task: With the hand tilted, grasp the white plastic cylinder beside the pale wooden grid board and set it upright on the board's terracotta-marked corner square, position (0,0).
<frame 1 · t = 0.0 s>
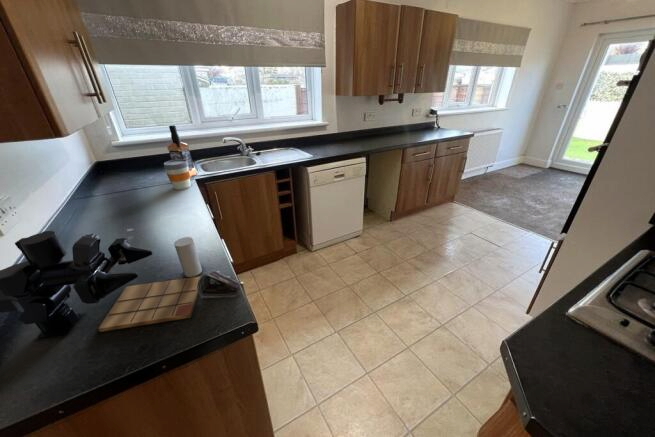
hand: (145, 263, 67), 17 cm above the worktop, tool horizontal, fingers open, 9 cm apart
reusable coffee cup: (182, 187, 161), on the worktop
board: (157, 302, 77), on the worktop
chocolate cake: (223, 288, 82), on the worktop
whiskey bottle: (186, 175, 179), on the worktop
white plastic cylinder: (193, 271, 89), on the worktop
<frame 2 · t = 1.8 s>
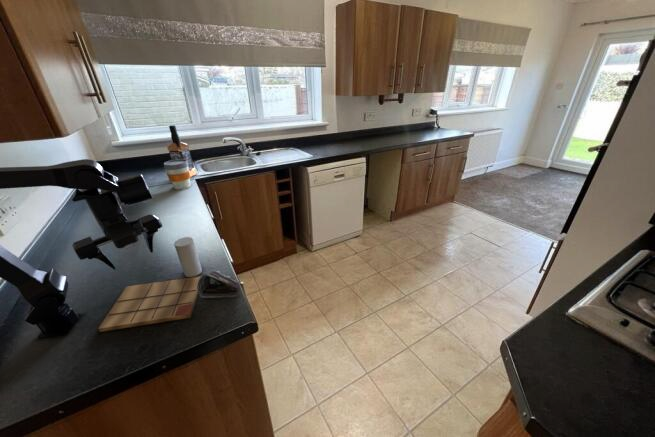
hand: (133, 260, 75), 13 cm above the worktop, tool pointing down, fingers open, 9 cm apart
nothing on the worktop moved.
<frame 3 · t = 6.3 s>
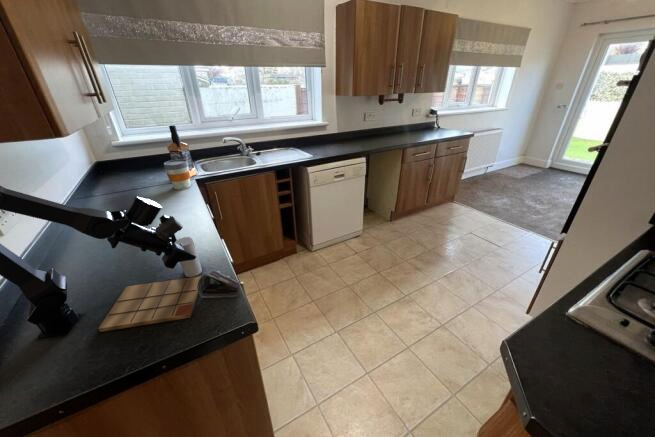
hand: (192, 254, 87), 7 cm above the worktop, tool tilted 45°, fingers closed on white plastic cylinder, 5 cm apart
white plastic cylinder: (193, 271, 89), on the worktop, touching gripper
everything else where it was.
when the fingers open (8 cm above the worktop, at t = 12.6 s): white plastic cylinder stays where it is, resting on board.
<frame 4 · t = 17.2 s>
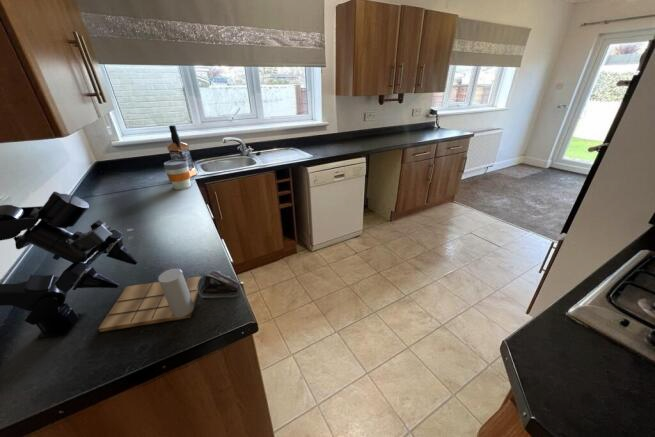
hand: (128, 274, 69), 13 cm above the worktop, tool tilted 45°, fingers open, 9 cm apart
white plastic cylinder: (183, 309, 73), point 1 cm above the worktop, touching board
everything else where it was.
at the end: white plastic cylinder 0.1 cm from the target spot, point 1.3 cm above the worktop; white plastic cylinder tilted 0°; the gripper is holding nothing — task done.
